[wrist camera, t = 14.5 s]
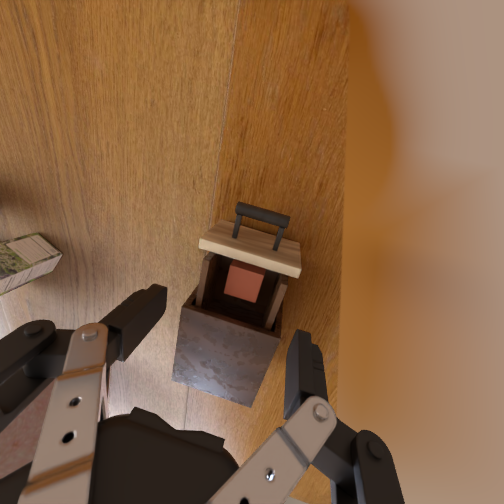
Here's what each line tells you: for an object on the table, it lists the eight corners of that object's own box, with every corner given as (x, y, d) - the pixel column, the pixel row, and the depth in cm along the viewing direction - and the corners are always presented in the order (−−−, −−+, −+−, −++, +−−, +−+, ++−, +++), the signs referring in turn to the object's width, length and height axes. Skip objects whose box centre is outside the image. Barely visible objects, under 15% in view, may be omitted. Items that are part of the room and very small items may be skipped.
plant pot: (130, 366, 49) (-69, 622, 22) (107, 413, 60) (-48, 627, 32) (33, 313, 48) (-308, 518, 21) (27, 370, 58) (-207, 558, 31)
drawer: (227, 188, 29) (205, 199, 22) (311, 213, 28) (317, 232, 21) (206, 294, 36) (185, 328, 29) (272, 316, 36) (266, 355, 29)
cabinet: (209, 269, 35) (181, 306, 27) (283, 293, 35) (280, 339, 26) (196, 333, 42) (171, 380, 33) (259, 354, 41) (250, 408, 32)
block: (238, 251, 31) (230, 264, 27) (268, 260, 31) (264, 275, 27) (231, 276, 33) (223, 293, 29) (260, 285, 32) (255, 303, 28)
